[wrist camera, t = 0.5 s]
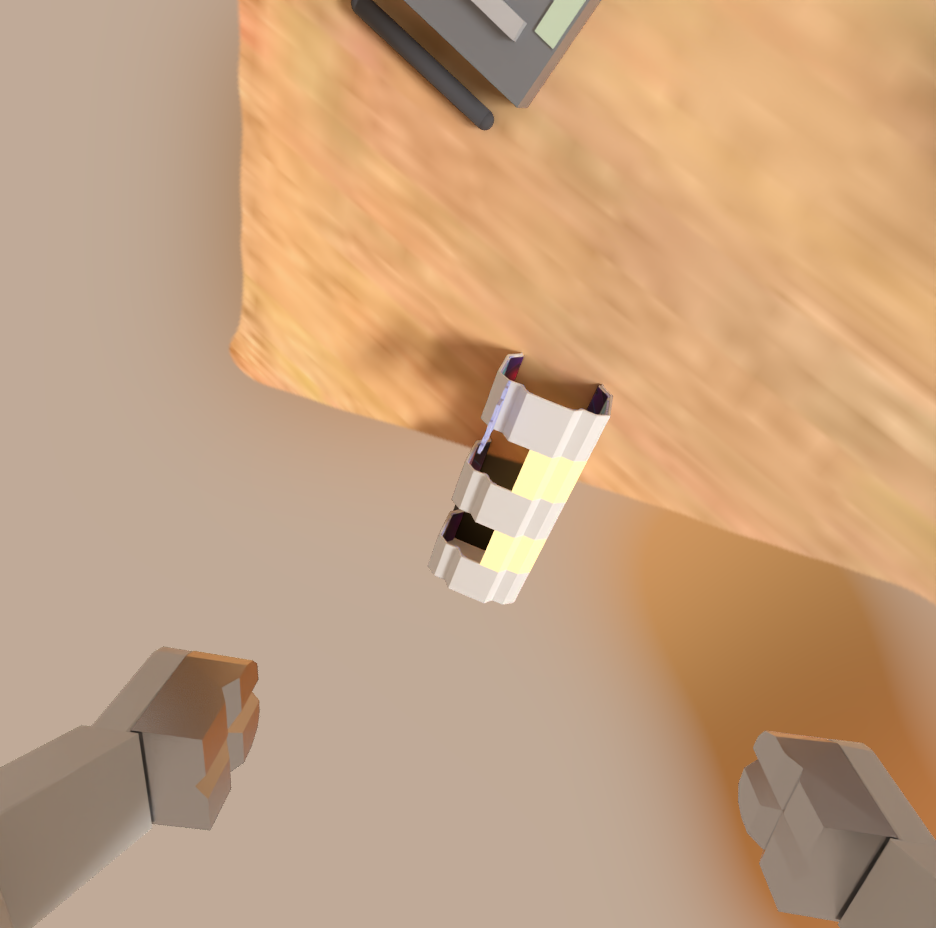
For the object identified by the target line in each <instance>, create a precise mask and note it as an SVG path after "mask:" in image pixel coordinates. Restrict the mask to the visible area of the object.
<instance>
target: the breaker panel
mask: <svg viewBox="0 0 936 928" xmlns="http://www.w3.org/2000/svg"><path fill="white" fill-rule="evenodd" d="M404 1H405V2H406V3H407V4H408V5H409V6H410V7H411V8H412V9H414V10H415V11H416V12H417V13H418V14H419V15H420V16H421V17H422V18H423V19H424V20H425V21H426V22H427V23H428V24H429V25H430V26H431V27H432V28H434V29H435V30H436V31H437V32H438V33H439V34H440V35H441V36H442V37H443V38H444V39H445V40H446V41H447V42H448V43H449V44H450V45H451V46H453V47H454V48H455V49H456V50H457V51H458V52H459V53H460V54H461V55H462V56H463V57H464V58H465V59H466V60H467V61H468V62H469V63H470V64H472V65H473V66H474V67H475V68H476V69H477V70H478V71H479V72H480V73H481V74H482V75H483V76H484V77H485V78H486V79H487V80H488V81H489V82H491V83H492V84H493V85H494V86H495V87H496V88H497V89H498V90H499V91H500V92H501V93H502V94H503V95H504V96H505V97H506V98H507V99H508V100H510V101H511V102H512V103H513V104H514V105H515V106H516V107H517V108H527V107H528V106H529V105H530V103H531V102H532V100H533V99H534V97H535V96H536V94H537V93H538V91H539V90H540V89H541V87H542V86H543V84H544V83H545V81H546V80H547V78H548V77H549V75H550V74H551V73H552V71H553V70H554V68H555V67H556V65H557V64H558V62H559V61H560V59H561V58H562V57H563V55H564V54H565V52H566V51H567V49H568V48H569V46H570V45H571V43H572V42H573V41H574V39H575V38H576V36H577V35H578V33H579V32H580V30H581V29H582V27H583V26H584V25H585V23H586V22H587V20H588V19H589V17H590V16H591V14H592V13H593V11H594V10H595V9H596V7H597V6H598V4H599V3H600V1H601V0H404Z"/></svg>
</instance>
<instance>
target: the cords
mask: <svg viewBox="0 0 936 928" xmlns="http://www.w3.org/2000/svg"><path fill="white" fill-rule="evenodd" d="M351 5H352V9H353V11H354V12H355V13H356V14H357V15H358V16H359V17H360V18H361V19H362V20H363V21H364V22H365V23H367V24H368V25H369V26H370V27H371V28H372V29H373V30H374V31H375V32H376V33H377V34H378V35H379V36H381V37H382V38H383V39H384V40H385V41H386V42H387V43H388V44H389V45H390V46H391V47H392V48H393V49H395V50H396V51H397V52H398V53H399V54H400V55H401V56H402V57H403V58H404V59H405V60H406V61H407V62H409V63H410V64H411V65H412V66H413V67H414V68H415V69H416V70H417V71H418V72H419V73H420V74H421V75H423V76H424V77H425V78H426V79H427V80H428V81H429V82H430V83H431V84H432V85H433V86H434V87H435V88H437V89H438V90H439V91H440V92H441V93H442V94H443V95H444V96H445V97H446V98H447V99H448V100H449V101H450V102H452V103H453V104H454V105H455V106H456V107H457V108H458V109H459V110H460V111H461V112H462V113H463V114H464V115H466V116H467V117H468V118H469V119H470V120H471V121H472V122H473V123H474V124H475V125H476V126H477V127H478V128H480V129H481V130H488V129H490V128H491V127H492V125H493V123H494V116H493V114H492V112H491V111H490V110H489V109H488V108H486V107H485V106H484V105H483V104H482V103H481V102H480V101H479V100H478V99H477V98H476V97H475V96H474V95H473V94H472V93H470V92H469V91H468V90H467V89H466V88H465V87H464V86H463V85H462V84H461V83H460V82H459V81H458V80H457V79H456V78H454V77H453V76H452V75H451V74H450V73H449V72H448V71H447V70H446V69H445V68H444V67H443V66H442V65H441V64H440V63H439V62H437V61H436V60H435V59H434V58H433V57H432V56H431V55H430V54H429V53H428V52H427V51H426V50H425V49H424V48H423V47H421V46H420V45H419V44H418V43H417V42H416V41H415V40H414V39H413V38H412V37H411V36H410V35H409V34H408V33H407V32H405V31H404V30H403V29H402V28H401V27H400V26H399V25H398V24H397V23H396V22H395V21H394V20H393V19H392V18H391V17H389V16H388V15H387V14H386V13H385V12H384V11H383V10H382V9H381V8H380V7H379V6H378V5H377V4H376V3H375V2H373V1H372V0H351Z"/></svg>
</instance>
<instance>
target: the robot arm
mask: <svg viewBox="0 0 936 928" xmlns="http://www.w3.org/2000/svg"><path fill="white" fill-rule="evenodd" d="M257 681H258V666H257V663H256V662H254V661H252V660H246V659H240V658H234V657H228V656H221V655H216V654H210V653H204V652H198V651H187V650H181V649H175V648H169V647H162V648H160V649H158V650H156V651H155V652H153V653H152V654H151V656H150V657H149V658H148V659H147V660H146V662H145V663H144V664H143V665H142V666H141V667H140V669H139V670H138V671H137V672H136V673H135V675H134V676H133V677H132V678H131V680H130V681H129V682H128V683H127V684H126V685H125V687H124V688H123V689H122V690H121V691H120V693H119V694H118V695H117V696H116V697H115V699H114V700H113V701H112V702H111V703H110V704H109V706H108V707H107V708H106V709H105V711H104V712H103V713H102V714H101V715H100V716H99V718H98V719H97V720H96V721H95V722H94V724H93V725H92V726H82V725H81V726H79V727H77V728H75V729H73V730H71V731H69V732H67V733H65V734H64V735H62V736H60V737H58V738H56V739H54V740H52V741H50V742H48V743H46V744H44V745H43V746H40V747H39V748H37V749H35V750H33V751H31V752H29V753H27V754H25V755H23V756H21V757H19V758H17V759H15V760H14V761H12V762H10V763H8V764H6V765H4V766H2V767H0V928H32V927H34V926H35V925H36V924H37V923H38V922H40V921H41V920H42V919H43V918H44V917H46V916H47V915H48V914H49V913H50V912H52V911H53V910H54V909H55V908H56V907H58V906H59V905H60V904H61V903H62V902H63V901H65V900H66V899H67V898H68V897H70V896H71V895H72V894H73V893H74V892H76V891H77V890H78V889H79V888H80V887H82V886H83V885H84V884H85V883H86V882H88V881H89V880H90V879H91V878H93V877H94V876H95V875H96V874H97V873H99V872H100V871H101V870H102V869H103V868H104V867H106V866H107V865H108V864H109V863H111V862H112V861H113V860H114V859H115V858H116V857H118V856H119V855H120V854H121V853H122V852H124V851H125V850H126V849H127V848H128V847H130V846H131V845H132V844H133V843H135V842H136V841H137V840H138V839H139V838H141V837H142V836H143V835H144V834H145V833H146V832H148V831H149V830H150V829H151V828H152V824H158V825H167V826H176V827H185V828H195V829H203V830H211V828H212V826H213V824H214V822H215V820H216V818H217V816H218V814H219V812H220V810H221V808H222V806H223V804H224V802H225V800H226V798H227V796H228V794H229V792H230V790H231V775H230V772H231V771H233V770H234V769H236V768H237V767H239V766H240V765H241V764H243V763H244V762H245V759H246V757H247V755H248V753H249V751H250V749H251V747H252V743H253V740H254V737H255V734H256V731H257V727H258V720H259V712H260V709H259V700H258V698H257V697H256V696H255V695H254V693H253V692H252V691H253V689H254V687H255V685H256V683H257ZM753 749H754V751H755V753H756V756H757V758H758V760H756V761H755V762H753V763H751V764H750V765H748V766H747V767H745V768H744V770H743V773H742V776H741V778H740V781H739V790H738V791H739V792H738V803H739V808H740V813H741V817H742V820H743V822H744V825H745V828H746V831H747V833H748V834H749V835H750V836H751V837H752V838H753V839H754V840H755V841H756V843H757V844H758V845H759V846H760V847H761V848H762V849H763V853H762V856H761V860H760V863H759V864H760V866H761V869H762V871H763V874H764V876H765V879H766V881H767V884H768V886H769V889H770V891H771V894H772V896H773V899H774V901H775V904H776V906H777V909H778V911H780V912H785V913H791V914H797V915H803V916H809V917H814V918H820V919H826V920H832V921H838V922H839V924H838V926H839V927H840V928H936V840H935V839H934V838H933V836H932V835H931V833H930V832H929V830H928V829H927V828H926V826H925V825H924V823H923V822H922V820H921V819H920V818H919V816H918V815H917V813H916V812H915V810H914V809H913V808H912V806H911V805H910V803H909V802H908V800H907V799H906V798H905V796H904V795H903V793H902V792H901V790H900V789H899V788H898V786H897V785H896V783H895V782H894V781H893V779H892V778H891V776H890V775H889V773H888V772H887V770H886V769H885V768H884V766H883V765H882V763H881V762H880V760H879V759H878V758H877V756H876V755H875V753H874V752H873V751H872V750H871V749H870V748H869V747H867V746H866V745H865V744H863V743H858V742H850V741H842V740H834V739H828V740H827V739H824V738H818V737H810V736H802V735H794V734H786V733H778V732H771V731H764V732H763V733H762V734H760V735H759V736H758V738H757V740H756V742H755V745H754V747H753Z"/></svg>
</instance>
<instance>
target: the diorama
mask: <svg viewBox="0 0 936 928" xmlns="http://www.w3.org/2000/svg"><path fill="white" fill-rule="evenodd" d="M523 357H524V355H523V353H522V352H521V353H517V354H507V356H506V358H505V359H504V361H503V363H502V364H501V366H500V368H499V370H498V372H497V374H496V377H495V380H494V383H493V386H492V388H491V391H490V394H489V397H488V399H487V402H486V405H485V408H484V410H483V413H482V416H481V419H482V420H483V421H484V422H485V423H486V424H487V425H488V427H487V430H486V432H485V435H484V436H483V439H482V440H477V441H475V443H474V445H473V447H472V449H471V451H470V453H469V455H468V457H467V459H466V461H465V463H464V466H463V469H462V471H461V474H460V477H459V480H458V483H457V485H456V488H455V491H454V494H453V496H452V501H453V502H454V503H455V507H454V509H453V511H451V512H450V513H449V515H448V517H447V519H446V521H445V523H444V525H443V527H442V529H441V531H440V533H439V535H438V538H437V541H436V543H435V546H434V549H433V552H432V555H431V557H430V560H429V563H428V567H429V569H430V570H431V571H432V573H433V574H434V575H435V576H437V577H439V578H442V579H444V580H445V582H446V584H447V586H448V588H449V589H451V590H454V591H456V592H458V593H461V594H463V595H466V596H468V597H470V598H473V599H475V600H477V601H480V602H482V603H486V602H488V601H491V600H493V601H495V602H498V603H500V604H507V603H513V602H514V601H515V599H516V597H517V595H518V593H519V592H520V590H521V588H522V586H523V584H524V582H525V580H526V578H527V576H528V574H529V572H530V570H531V568H532V566H533V564H534V562H535V561H536V559H537V557H538V555H539V553H540V551H541V549H542V547H543V545H544V543H545V541H546V539H547V537H548V536H549V534H550V532H551V529H552V528H553V525H554V524H555V522H556V520H557V518H558V516H559V514H560V512H561V510H562V508H563V507H564V505H565V503H566V501H567V499H568V497H569V495H570V493H571V491H572V489H573V487H574V485H575V483H576V481H577V479H578V477H579V476H580V474H581V472H582V470H583V468H584V466H585V464H586V462H587V460H588V458H589V456H590V454H591V452H592V450H593V448H594V447H595V445H596V443H597V441H598V439H599V437H600V435H601V433H602V431H603V429H604V427H605V425H606V423H607V421H608V419H609V418H610V415H611V407H612V399H613V396H612V395H611V394H610V393H609V392H608V391H607V389H606V388H605V387H604V385H603V384H602V385H601V386H600V385H599V386H598V388H597V390H596V392H595V394H594V396H593V398H592V400H591V402H590V404H589V406H588V408H587V410H585V409H583V408H581V409H578V410H576V409H575V410H573V409H570V408H566V407H564V406H562V405H559V404H557V403H554V402H552V401H549V400H547V399H544V398H542V397H539V396H537V395H534V394H533V393H530V392H529V391H528V390H526V389H525V386H524V385H523V384H520V383H517V382H514V381H515V378H516V376H517V373H518V370H519V368H520V365H521V363H522V360H523ZM493 429H494V430H497V431H499V432H502V433H503V434H504V436H505V437H506V439H507V440H508V441H510V442H512V443H515V444H517V445H520V446H522V447H525V448H527V449H530V450H529V453H528V455H527V457H526V459H525V462H524V464H523V463H520V462H516V461H513V460H509V459H505V458H503V457H499V456H495V455H491V454H488V453H487V451H488V448H489V446H490V443H491V441H492V440H491V439H490V435H491V432H492V431H493Z"/></svg>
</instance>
